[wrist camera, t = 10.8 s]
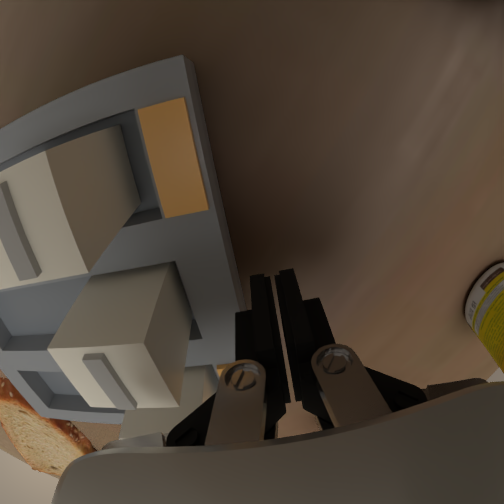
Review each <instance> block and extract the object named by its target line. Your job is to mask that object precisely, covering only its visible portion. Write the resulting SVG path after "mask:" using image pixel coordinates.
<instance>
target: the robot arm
mask: <svg viewBox="0 0 504 504" xmlns="http://www.w3.org/2000/svg"><path fill="white" fill-rule="evenodd" d="M279 274H280V275H274V277H275V283H276V289H277V295H278V301H279V307H280V313H281V319H282V326H283V332H284V337H285V343H286V349H287V354H288V360H289V365H290V371H291V377H292V382H293V388H294V394H295V400H296V402H297V401H302V405H303V409H304V410H306V411H308V412H310V413H312V414H314V415H315V420H316V422H317V425H318V427H319V430H320V431H318V432H312V433H307V434H302V435H296V436H290V437H283V438H277V437H278V420H279V419H280V418H281V417H282V416H283V415H284V414H285V413H286V406H285V403H291V399H290V393H289V387H288V381H287V375H286V368H285V362H284V356H283V350H282V344H281V338H280V332H279V326H278V320H277V315H276V309H275V303H274V297H273V291H272V286H271V280H270V276H269V277H264V274H258V275H253V276H250V287H251V301H252V310H247V311H240V312H236V313H235V362H233V363H231V364H229V365H228V366H226V368H225V369H224V370H223V371H222V373H221V375H220V378H219V383H218V387H217V392H215V393H214V394H213V395H212V396H211V397H210V398H208V399H207V400H206V401H205V402H204V403H203V404H201V405H200V406H199V407H198V408H197V409H195V410H194V411H193V412H192V413H191V414H189V415H188V416H187V417H186V418H185V419H183V420H182V421H181V422H180V423H178V424H177V425H176V426H175V427H174V428H173V429H172V430H171V431H170V432H169V433H167V434H163V433H162V432H158V433H153V434H148V435H143V436H138V437H133V438H127V439H121V440H115V441H112V442H109V443H107V444H106V445H105V446H103V448H102V449H101V450H100V451H96V452H92V453H89V454H86V455H83V456H81V457H79V458H77V459H75V460H73V461H72V462H71V463H69V465H68V466H67V467H66V468H65V470H64V471H63V473H62V475H61V477H60V479H59V482H58V484H57V487H56V490H55V493H54V496H53V500H52V504H504V382H503V381H502V382H490V383H488V382H487V381H486V380H484V379H481V378H472V379H466V380H460V381H454V382H448V383H441V384H434V385H427V388H426V389H420V388H419V387H417V386H415V385H412V384H410V383H407V382H404V381H401V380H399V379H396V378H393V377H391V376H388V375H385V374H383V373H380V372H378V371H375V370H372V369H370V368H367V367H365V366H363V364H362V362H361V361H360V359H359V358H358V356H357V354H356V353H355V352H354V351H353V350H352V349H351V348H350V347H348V346H346V345H342V344H336V343H335V340H334V337H333V334H332V331H331V329H330V326H329V323H328V320H327V317H326V315H325V312H324V309H323V306H322V304H321V301H320V299H319V298H314V299H309V300H304V301H303V300H302V296H301V293H300V290H299V286H298V283H297V279H296V276H295V273H294V269H293V268H292V269H287V270H281V271H279Z"/></svg>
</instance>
